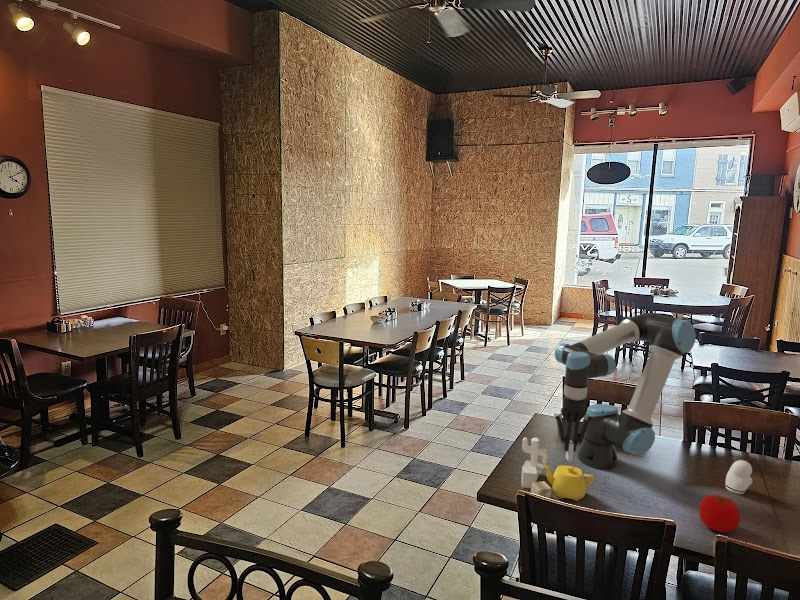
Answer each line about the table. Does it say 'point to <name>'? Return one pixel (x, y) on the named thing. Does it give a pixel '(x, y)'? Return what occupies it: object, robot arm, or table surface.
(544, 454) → the figurine
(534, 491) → the beech block
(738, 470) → the white mitten
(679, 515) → the table surface
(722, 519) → the tomato
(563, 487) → the teapot
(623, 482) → the table surface
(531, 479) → the white block
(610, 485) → the table surface
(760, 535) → the table surface
